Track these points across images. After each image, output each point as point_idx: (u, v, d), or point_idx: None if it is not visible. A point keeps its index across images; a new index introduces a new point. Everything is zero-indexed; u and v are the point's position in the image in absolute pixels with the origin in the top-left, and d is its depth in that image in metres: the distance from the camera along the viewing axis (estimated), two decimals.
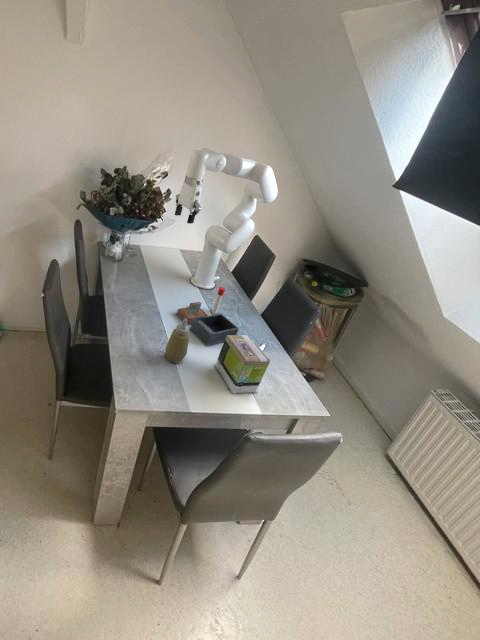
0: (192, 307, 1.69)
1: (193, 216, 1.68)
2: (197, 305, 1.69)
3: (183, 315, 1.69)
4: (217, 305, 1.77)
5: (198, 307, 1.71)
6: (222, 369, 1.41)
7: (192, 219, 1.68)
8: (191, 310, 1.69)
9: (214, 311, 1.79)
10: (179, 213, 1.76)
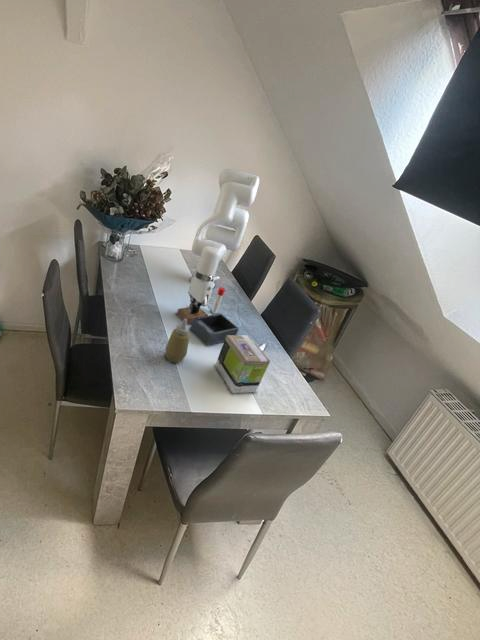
0: (192, 307, 1.69)
1: (198, 307, 1.68)
2: None
3: (183, 315, 1.69)
4: (217, 305, 1.77)
5: None
6: (222, 369, 1.41)
7: (197, 310, 1.69)
8: (191, 310, 1.69)
9: (214, 311, 1.79)
10: None
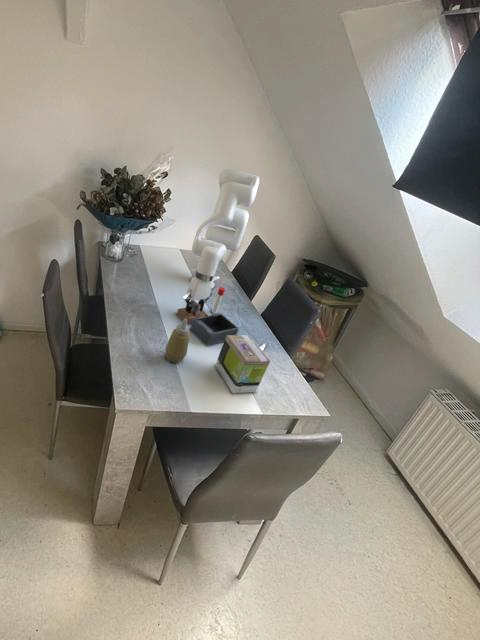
0: None
1: None
2: None
3: (183, 315, 1.69)
4: (217, 305, 1.77)
5: None
6: (222, 369, 1.41)
7: None
8: None
9: (214, 311, 1.79)
10: None
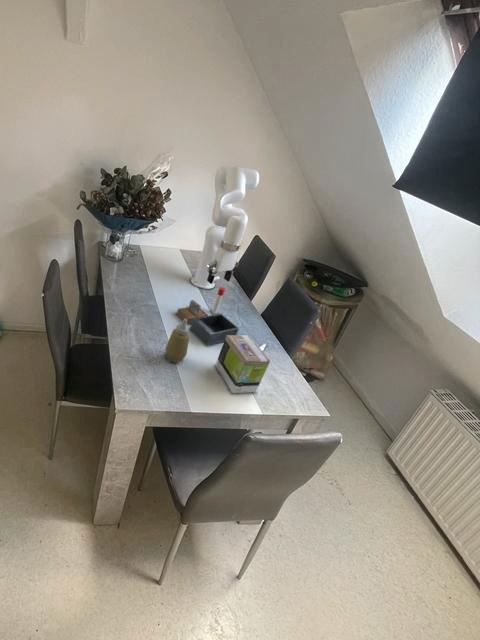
0: None
1: None
2: None
3: (183, 315, 1.69)
4: (217, 305, 1.77)
5: None
6: (222, 369, 1.41)
7: None
8: None
9: (214, 311, 1.79)
10: None
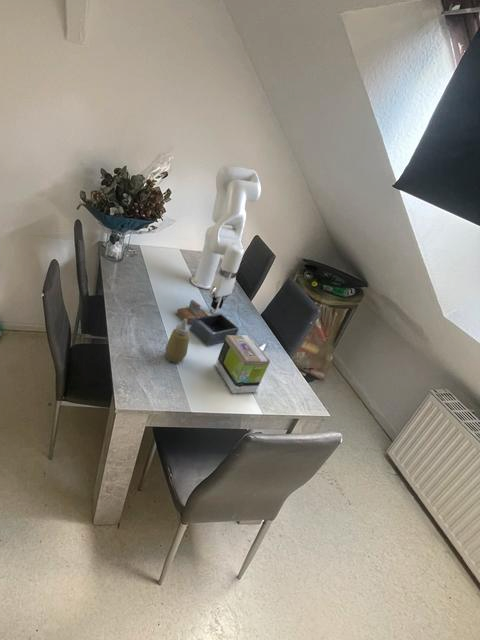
0: None
1: None
2: None
3: (183, 315, 1.69)
4: (217, 305, 1.77)
5: None
6: (222, 369, 1.41)
7: None
8: None
9: (214, 311, 1.79)
10: None
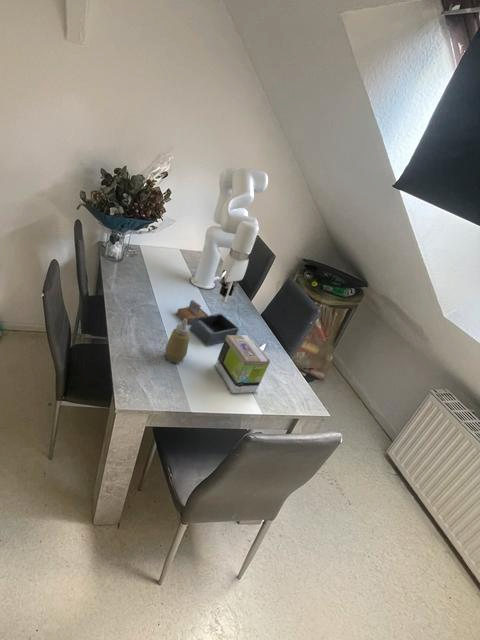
0: None
1: None
2: None
3: (183, 315, 1.69)
4: (227, 292, 1.55)
5: None
6: (222, 369, 1.41)
7: None
8: None
9: (223, 299, 1.56)
10: None
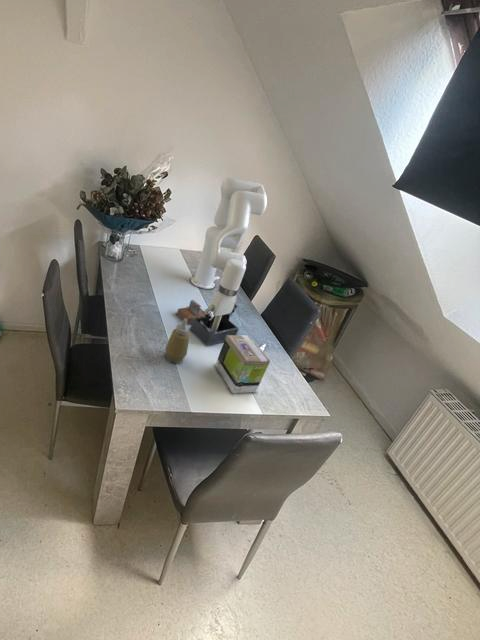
0: None
1: None
2: None
3: (183, 315, 1.69)
4: (216, 325, 1.60)
5: None
6: (222, 369, 1.41)
7: None
8: None
9: (213, 332, 1.62)
10: None
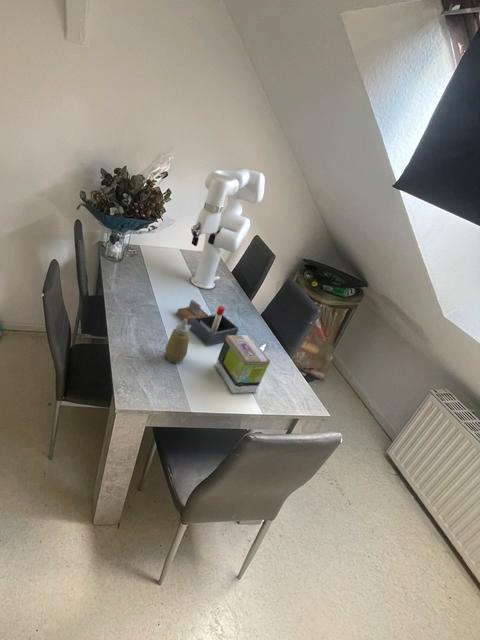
0: None
1: None
2: None
3: (183, 315, 1.69)
4: (216, 325, 1.60)
5: None
6: (222, 369, 1.41)
7: None
8: None
9: (213, 332, 1.62)
10: None
